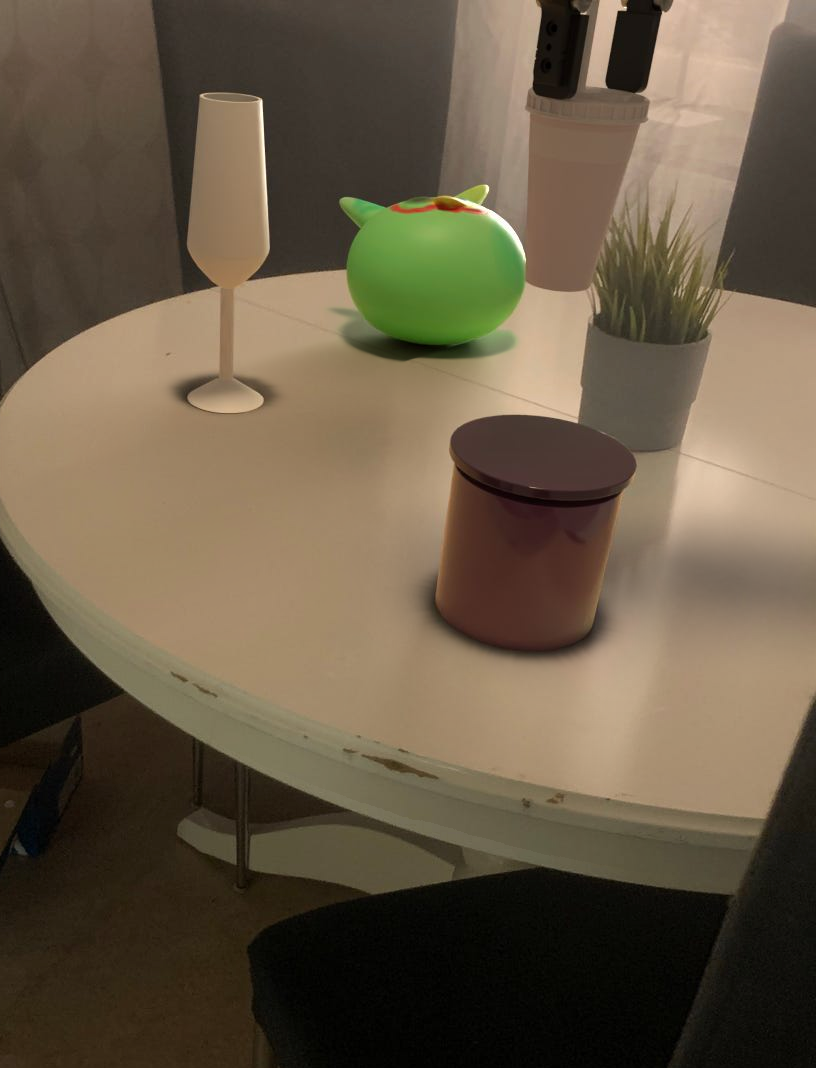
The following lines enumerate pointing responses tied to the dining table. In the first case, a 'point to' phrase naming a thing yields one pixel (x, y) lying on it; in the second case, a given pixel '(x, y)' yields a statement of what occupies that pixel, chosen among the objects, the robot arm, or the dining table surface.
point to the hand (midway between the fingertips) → (590, 93)
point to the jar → (529, 529)
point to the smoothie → (576, 175)
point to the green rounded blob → (434, 267)
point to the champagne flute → (228, 224)
